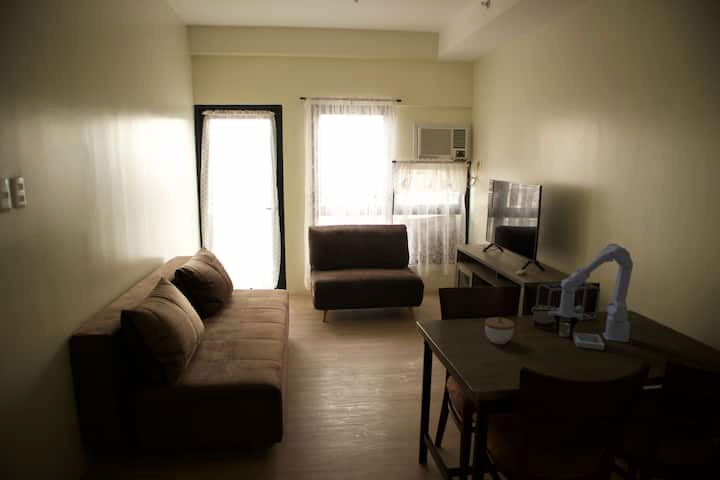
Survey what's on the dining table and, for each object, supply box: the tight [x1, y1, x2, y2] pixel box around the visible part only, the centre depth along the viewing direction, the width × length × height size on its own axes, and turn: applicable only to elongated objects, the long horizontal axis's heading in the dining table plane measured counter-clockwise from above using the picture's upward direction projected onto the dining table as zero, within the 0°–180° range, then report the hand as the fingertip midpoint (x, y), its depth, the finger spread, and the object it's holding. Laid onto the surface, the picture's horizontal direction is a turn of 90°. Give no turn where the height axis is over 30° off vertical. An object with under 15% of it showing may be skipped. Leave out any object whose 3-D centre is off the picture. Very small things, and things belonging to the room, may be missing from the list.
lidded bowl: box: [484, 317, 515, 345], centre depth 215 cm, size 13×13×11 cm
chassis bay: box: [571, 331, 605, 351], centre depth 216 cm, size 11×12×2 cm
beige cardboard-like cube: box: [558, 322, 571, 338], centre depth 225 cm, size 4×5×5 cm
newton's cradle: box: [535, 280, 601, 324], centre depth 247 cm, size 30×10×18 cm, turn 105°
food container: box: [531, 304, 558, 329], centre depth 236 cm, size 12×6×10 cm, turn 84°
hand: (564, 331), depth 226 cm, fingers open, 5 cm apart
